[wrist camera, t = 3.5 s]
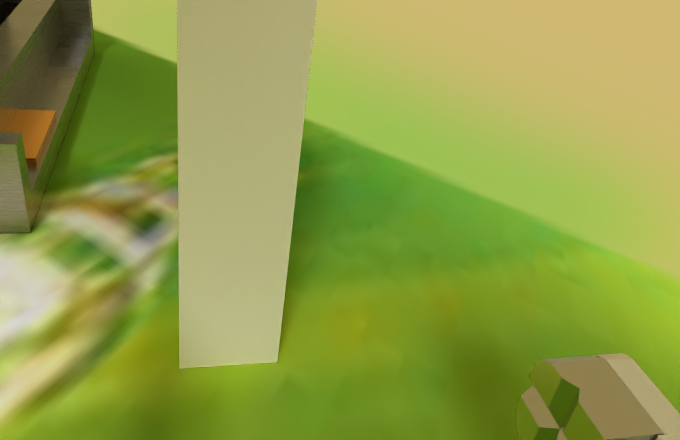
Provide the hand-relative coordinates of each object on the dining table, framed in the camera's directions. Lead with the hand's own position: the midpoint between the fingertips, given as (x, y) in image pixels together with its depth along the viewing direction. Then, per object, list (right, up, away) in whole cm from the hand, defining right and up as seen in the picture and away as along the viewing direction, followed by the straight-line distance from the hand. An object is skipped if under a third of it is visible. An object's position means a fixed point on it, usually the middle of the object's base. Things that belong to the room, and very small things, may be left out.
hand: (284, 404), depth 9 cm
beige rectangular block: (-3, 0, +13) cm, 13 cm away
